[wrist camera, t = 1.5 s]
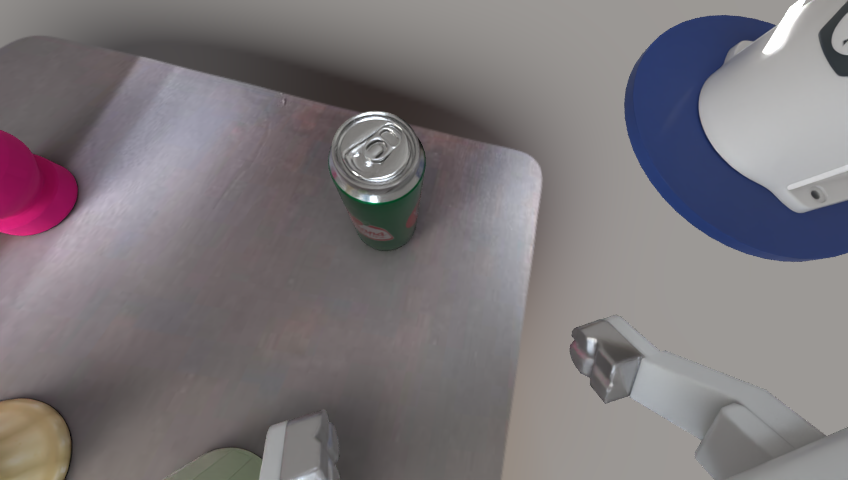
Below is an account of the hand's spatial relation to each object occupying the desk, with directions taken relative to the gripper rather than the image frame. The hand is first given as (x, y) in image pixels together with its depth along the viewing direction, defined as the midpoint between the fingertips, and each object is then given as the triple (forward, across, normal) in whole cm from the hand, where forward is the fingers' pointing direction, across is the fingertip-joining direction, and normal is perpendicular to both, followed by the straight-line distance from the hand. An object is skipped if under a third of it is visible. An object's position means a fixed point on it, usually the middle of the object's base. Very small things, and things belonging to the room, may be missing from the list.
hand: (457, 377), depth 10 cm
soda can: (+18, 0, +4) cm, 19 cm away
